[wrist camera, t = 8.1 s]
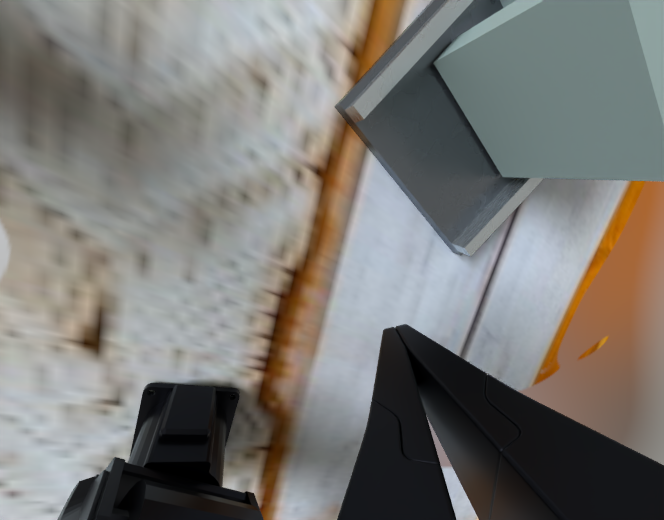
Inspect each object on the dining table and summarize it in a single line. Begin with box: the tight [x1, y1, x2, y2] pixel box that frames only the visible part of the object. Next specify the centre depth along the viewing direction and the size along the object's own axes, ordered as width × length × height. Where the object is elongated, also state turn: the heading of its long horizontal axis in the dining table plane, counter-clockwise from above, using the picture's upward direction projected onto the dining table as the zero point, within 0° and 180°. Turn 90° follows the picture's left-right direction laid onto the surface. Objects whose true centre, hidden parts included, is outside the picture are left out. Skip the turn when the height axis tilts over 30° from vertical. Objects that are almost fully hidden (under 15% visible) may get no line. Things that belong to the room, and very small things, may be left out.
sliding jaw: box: [433, 0, 664, 181], centre depth 16 cm, size 2×10×10 cm, turn 45°
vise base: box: [335, 0, 544, 256], centre depth 21 cm, size 16×15×2 cm
